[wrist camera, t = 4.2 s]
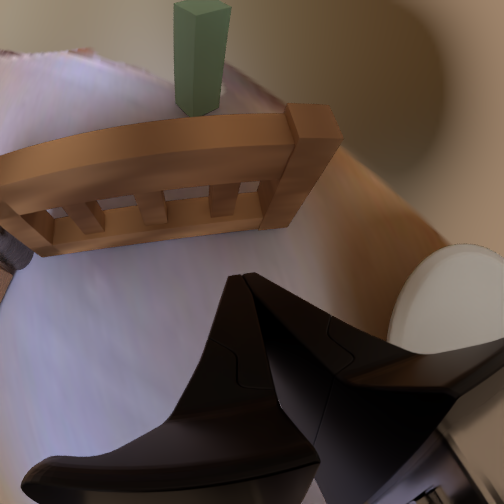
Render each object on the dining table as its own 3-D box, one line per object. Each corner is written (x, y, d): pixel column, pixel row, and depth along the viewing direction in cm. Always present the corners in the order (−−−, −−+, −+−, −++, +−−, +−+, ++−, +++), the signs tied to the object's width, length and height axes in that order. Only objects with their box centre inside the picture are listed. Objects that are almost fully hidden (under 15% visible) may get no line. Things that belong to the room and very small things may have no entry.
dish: (512, 307, 20) (551, 295, 16) (481, 460, 15) (522, 467, 11) (371, 230, 20) (411, 197, 15) (307, 443, 15) (343, 469, 10)
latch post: (192, 120, 21) (196, 15, 12) (175, 103, 21) (173, 3, 13) (218, 107, 22) (231, 7, 13) (200, 91, 22) (207, -5, 14)
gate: (42, 259, 15) (-40, 193, 8) (43, 231, 16) (-30, 156, 8) (287, 227, 19) (343, 138, 11) (280, 200, 19) (328, 104, 11)
